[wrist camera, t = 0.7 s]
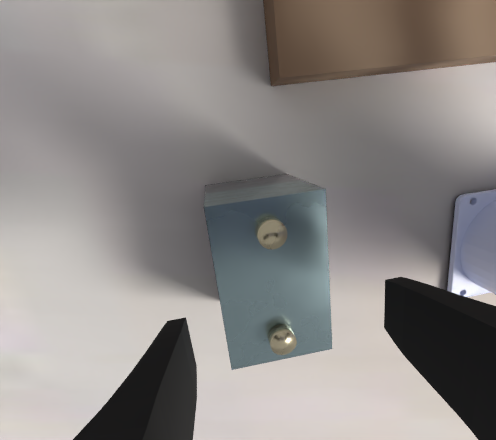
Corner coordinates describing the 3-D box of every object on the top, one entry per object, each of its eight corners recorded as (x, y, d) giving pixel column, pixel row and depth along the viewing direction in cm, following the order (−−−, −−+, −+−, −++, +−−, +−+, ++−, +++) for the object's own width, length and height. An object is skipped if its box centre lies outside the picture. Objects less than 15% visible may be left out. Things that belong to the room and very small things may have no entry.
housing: (286, 173, 17) (331, 191, 11) (295, 287, 19) (337, 358, 13) (205, 185, 17) (203, 210, 10) (224, 300, 19) (232, 380, 12)
